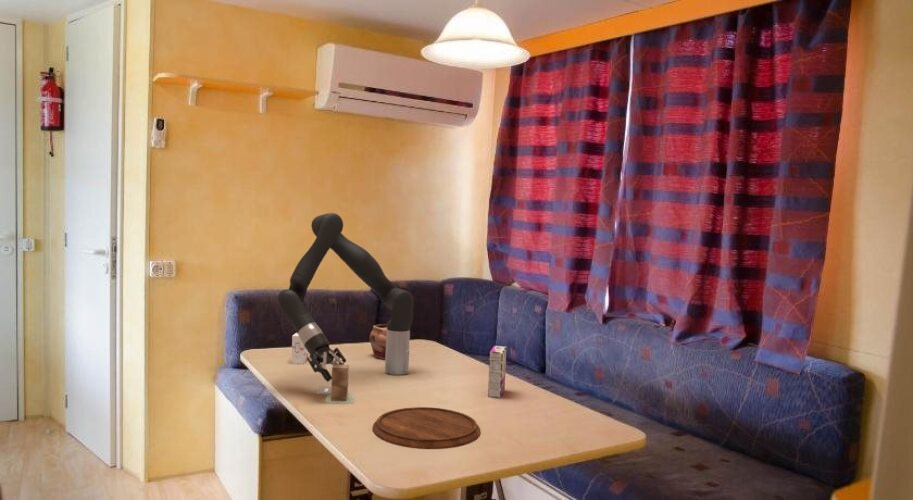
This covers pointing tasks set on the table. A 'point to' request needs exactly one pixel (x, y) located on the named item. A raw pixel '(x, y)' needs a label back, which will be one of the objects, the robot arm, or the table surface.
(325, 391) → the tile
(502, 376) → the candy bar box
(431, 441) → the cutting board
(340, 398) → the walnut block
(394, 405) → the table surface
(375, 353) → the decorative planter
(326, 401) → the sage mat
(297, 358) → the ink cartridge box
